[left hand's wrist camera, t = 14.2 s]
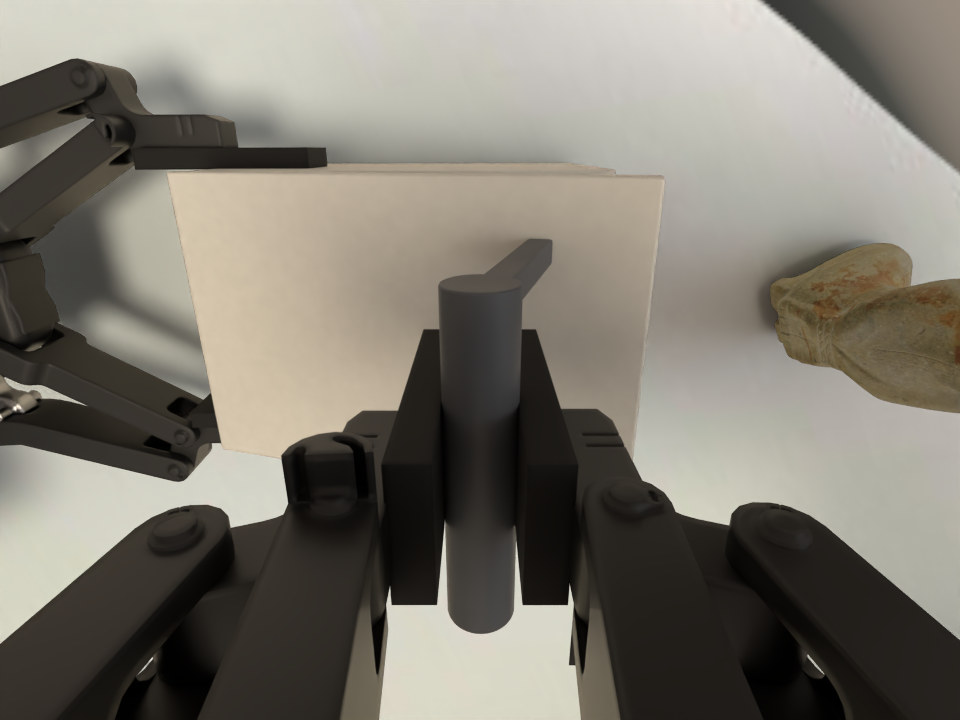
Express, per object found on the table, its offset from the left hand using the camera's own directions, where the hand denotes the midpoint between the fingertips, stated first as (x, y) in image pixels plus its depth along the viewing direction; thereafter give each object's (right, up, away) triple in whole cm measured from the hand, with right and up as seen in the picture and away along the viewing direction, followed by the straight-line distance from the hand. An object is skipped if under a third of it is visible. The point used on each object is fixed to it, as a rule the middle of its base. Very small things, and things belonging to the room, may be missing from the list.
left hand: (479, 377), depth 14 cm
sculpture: (+19, +4, +16) cm, 25 cm away
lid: (-2, +1, +4) cm, 5 cm away
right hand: (-6, +3, +9) cm, 11 cm away
